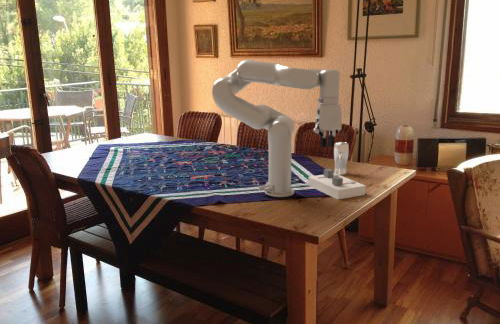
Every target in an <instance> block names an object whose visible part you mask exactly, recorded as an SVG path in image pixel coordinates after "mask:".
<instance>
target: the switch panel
mask: <svg viewBox="0 0 500 324" xmlns="http://www.w3.org/2000/svg"><path fill="white" fill-rule="evenodd" d="M333 177H341V178H343V185H339V186H336V185H334V184H332V177H326V176H324V174H319V175H311V176H308V177H307V178H308V181H307V185H308V186H309V187H311V188H313V189H315V190H317V191H319V192H321V193H323V194H325V195H327V196H330V197H332V198H334V199H335V200H342V199H347V198H348V199H350V198H353V197H354V198H355V197H360V196H366V188H367V187H366V184H365V185H364V184H363V183H360V182H358V181H355V180H353V179H350V178H348V177H345V176H344V175H338V174H335V173H334V175H333Z"/></svg>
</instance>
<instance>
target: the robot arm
mask: <svg viewBox="0 0 500 324" xmlns="http://www.w3.org/2000/svg"><path fill="white" fill-rule="evenodd" d="M340 75H341V73H340V71H339V70H338V69H331V68H330V69H317V68H308V69H306V68H305V69H304V68H297V67H290V66H286V65H285V66H284V65H282V64H280V63H276V62H268V61H267V62H265V61H259V60H254V59H245V60H242V61H240V62H239V63H238V65H237V66H236V69H235V70H233V71H232V72H231V73H229V74H228V75H227V76H223V77H220V78H218V79H216V80H215V81H214V83H213V84H212V89H211V90H212V91H211V95H212V98H213V99H212V100H213V102H214V103H215V105H216V106H217V107H218V108H219V110H221V111H222V112H223V113H225V114H227V115H229V116H230V117H233V118H234V119H236V120H238V122H242V123H244V124H245V125H247V126H249V128H252V129H254V130H261V129H265V130H267V143H268V181H266V183H265V184H264V185H258V186H257V190H258V191H264V194H265V195H267V196H270V197H274V198H275V197H276V198H286V197H291V196H293V195H294V194H295V189H294V188H292V187H291V186H292V185H291V184H292V135H293V134H294V132H295V129H296V127H295V126H296V125H295V123H294V121H293V120H292V118H291V117H289V116H287V115H286V114H284V113H282V112H280V111H278V110H276V109H274V108H273V107H270V106H268V105H265V104H257V105H255V104H253V103H251V102H250V101H249V102H248V101H247V100H245V99H243V98H241V97H238V96H237V94H238V93H239V92H242V90H243V89H245V88H246V87H248V86H249V85H250V84H252V83H258V84H267V85H273V86H279V87H285V88H293V89H300V90H311V89H315V88H317V87H318V88H319V97H318V99H317V100H316V101H317V102H316V103H318V104H317V106H316V107H317V108H316V113H315V123H314V124H315V125H314V128H313V132H314V133H315V134H317V135H318V136H319V138H320V148H321V147H322V148H324V149H326V148H328V147H331V148H334V146H335V138H336V136H337V134H338V133H339V132H340V131H342V126H343V125H342V121H343V118H342V107H341V104H339V101H340V99H339V98H340V82H341V81H340V77H341V76H340ZM327 131H328V132H329V134H328V136H327ZM326 136H327V137H326ZM327 146H328V147H327Z"/></svg>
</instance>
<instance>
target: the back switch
mask: <svg viewBox="0 0 500 324" xmlns="http://www.w3.org/2000/svg"><path fill="white" fill-rule="evenodd" d="M334 170H335V169H334ZM334 170H333V169H332V168H331V169H330V168H326V169H323V175H324V176H326V177H333V175H334Z"/></svg>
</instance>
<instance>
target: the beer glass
mask: <svg viewBox="0 0 500 324" xmlns="http://www.w3.org/2000/svg"><path fill="white" fill-rule="evenodd" d="M349 147H350V146H349V142H346V141H345V142H343V141H337V142H334V146H333V158H334V173H335V174H338V175H340V176H344V175H347V163H348V158H349V149H350V148H349Z"/></svg>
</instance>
